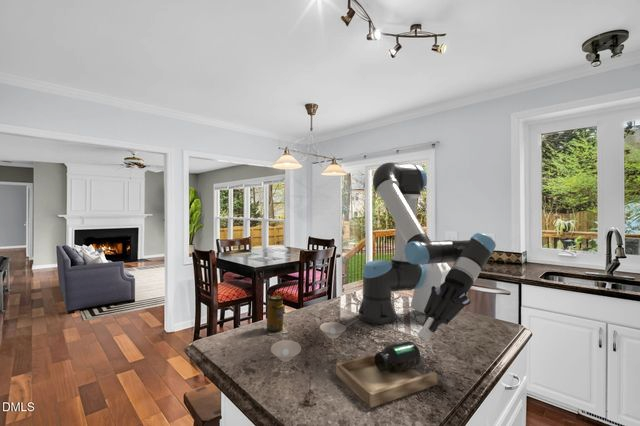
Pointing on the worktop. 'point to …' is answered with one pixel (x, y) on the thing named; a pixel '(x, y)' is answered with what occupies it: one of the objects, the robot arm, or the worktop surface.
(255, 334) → the worktop surface
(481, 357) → the worktop surface
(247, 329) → the worktop surface
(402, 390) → the tray
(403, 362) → the supplement bottle
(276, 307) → the condiment
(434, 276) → the milk
